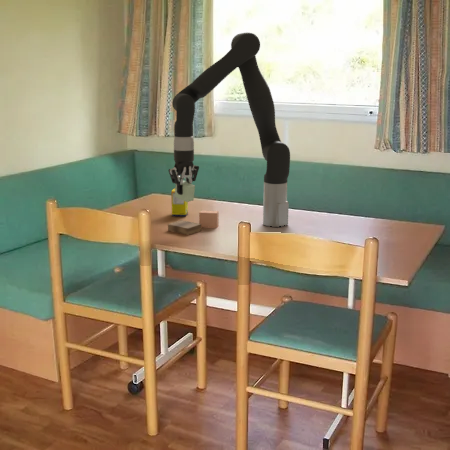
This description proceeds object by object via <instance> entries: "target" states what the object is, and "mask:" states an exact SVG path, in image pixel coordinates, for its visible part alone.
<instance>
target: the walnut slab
mask: <svg viewBox="0 0 450 450" xmlns="http://www.w3.org/2000/svg"><path fill="white" fill-rule="evenodd" d="M201 231H202V227H201V224H199V223H198V222H194V221H193V222H192V221H187V220H183V219H181V220H177V221H174V222H171V223H168V224H167V232H173V233H177V234H181V235H187V236H189V235H192V234H196V233H198V232H201Z"/></svg>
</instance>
